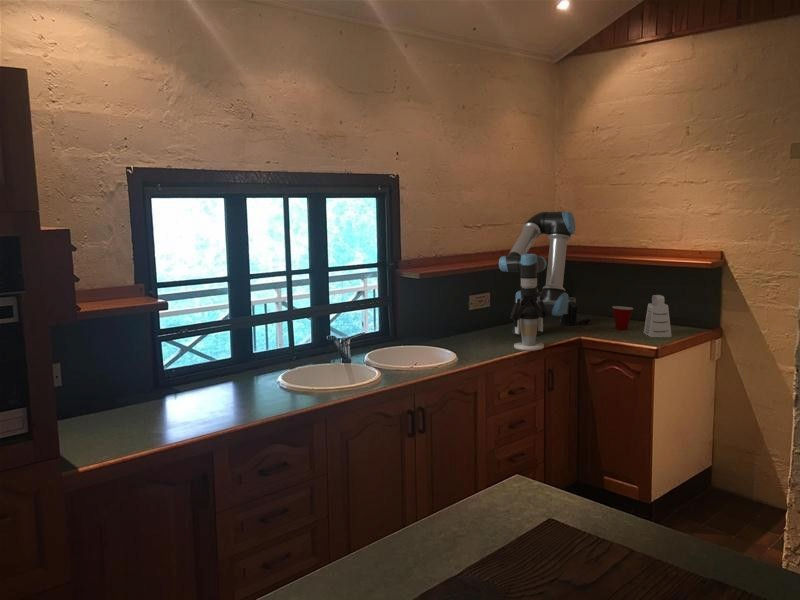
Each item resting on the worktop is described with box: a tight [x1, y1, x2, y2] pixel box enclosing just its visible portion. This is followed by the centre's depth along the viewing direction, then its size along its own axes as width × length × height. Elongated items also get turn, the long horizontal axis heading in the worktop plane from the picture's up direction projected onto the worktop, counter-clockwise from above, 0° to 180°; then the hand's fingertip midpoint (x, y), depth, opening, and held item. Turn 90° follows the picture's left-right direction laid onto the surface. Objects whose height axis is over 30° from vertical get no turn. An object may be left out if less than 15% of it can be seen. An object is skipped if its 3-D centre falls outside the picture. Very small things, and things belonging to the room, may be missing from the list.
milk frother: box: [559, 296, 592, 326], centre depth 383 cm, size 14×16×15 cm
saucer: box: [513, 341, 545, 351], centre depth 325 cm, size 14×14×1 cm
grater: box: [643, 294, 672, 338], centre depth 346 cm, size 10×10×20 cm
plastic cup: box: [611, 305, 634, 331], centre depth 365 cm, size 11×11×12 cm
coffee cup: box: [519, 312, 540, 346], centre depth 324 cm, size 9×9×15 cm
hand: (528, 332), depth 324 cm, fingers open, 12 cm apart
